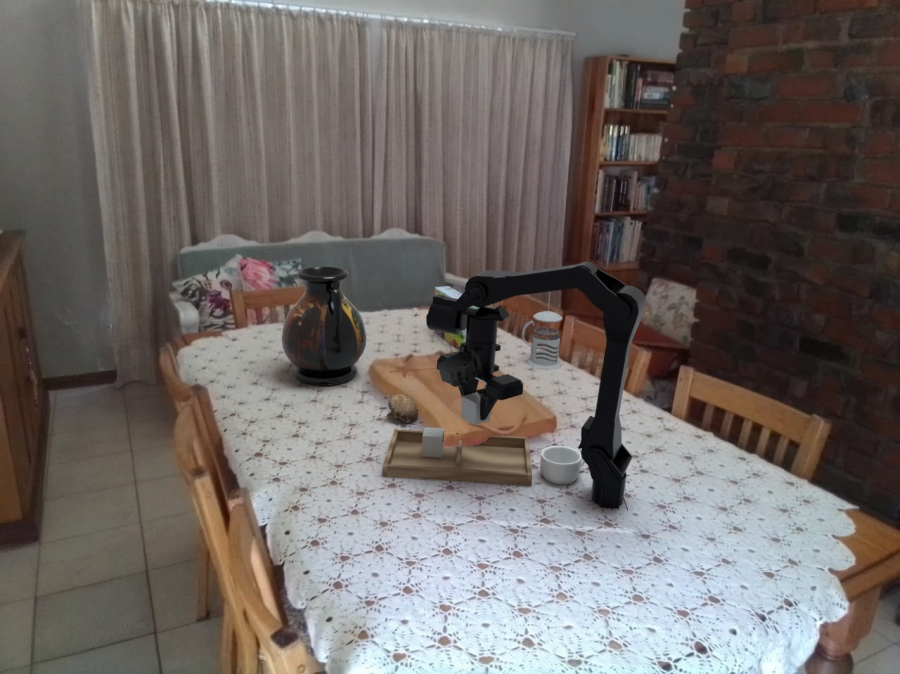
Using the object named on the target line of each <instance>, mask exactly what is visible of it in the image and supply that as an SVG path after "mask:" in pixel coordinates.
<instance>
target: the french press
mask: <svg viewBox="0 0 900 674" xmlns="http://www.w3.org/2000/svg"><path fill="white" fill-rule="evenodd" d="M550 299H551V291H550V292H549V294H548V301H550ZM547 307H548V308H547V310H543V311H539V312H537V313H535V314H534V315H533V316H532V317H533V319H534V320H535V321H538V322H542V323H546V326H544V327H542V326H541V327H536V328H535V329H533V331H534V333H533V334H532V340H531V341H532V343H528V342H527V340H526V339H525V337H524V336H525V331H526V328H527V327H528V326H529V325H531V324H532V326H533V327H535V321H534V320H530V321H527V323H525V324H524V326H523V329H522V334H521V335H522V339H523V341H524V342H523V343H525V344H526V346H528V347H529V348H530V358H529V359H527V361H526V362H527V363H526V364H527V365H528V366H530V367H532V368H535V369H538V370H539V369H540V370H556V369H559V368H560V367H562V363H561V362H560V360H559V355H560V354H559V353H560V343H561V336H560V335H559V334H560V331H559V330H558V329H556V328H553V327H548V324H549V323H559V322H561V321H563V316H561V315H560V314H559V313H557V312H554V311H551V310H549V309H550V303H548V305H547ZM540 336H543V337H540ZM538 337H539V338H538ZM546 338H547V339H546ZM548 339H549V340H548Z"/></svg>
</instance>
